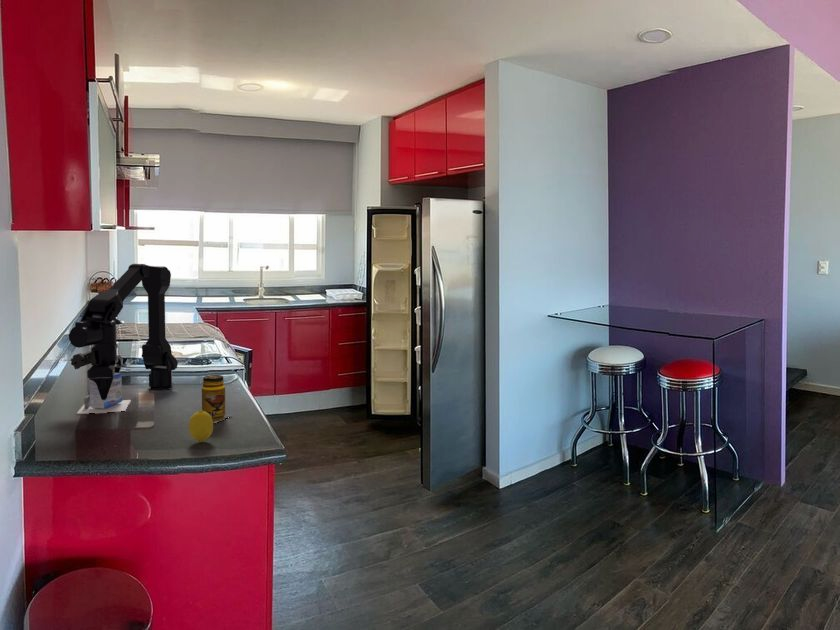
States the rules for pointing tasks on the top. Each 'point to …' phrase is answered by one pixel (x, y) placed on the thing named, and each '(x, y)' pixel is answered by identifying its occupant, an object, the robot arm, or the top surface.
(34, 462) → the top surface
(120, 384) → the medicine box
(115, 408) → the board
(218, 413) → the condiment
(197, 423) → the lemon
